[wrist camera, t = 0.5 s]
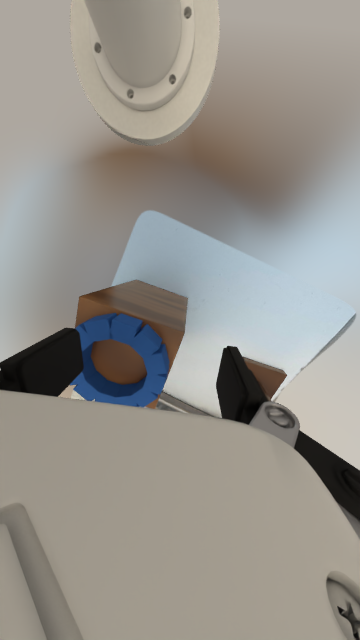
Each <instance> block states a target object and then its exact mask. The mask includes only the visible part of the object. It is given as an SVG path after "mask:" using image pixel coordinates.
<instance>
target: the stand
mask: <svg viewBox="0 0 360 640" xmlns="http://www.w3.org/2000/svg"><path fill="white" fill-rule="evenodd" d="M187 303H188V298H186V297H184V296H181V295H178V294H175V293H172V292H170V291H167V290H164V289H161V288H158V287H156V286H153V285H150V284H147V283H144V282H142V281H139V280H133V281H130V282H126V283H123V284H119V285H116V286H113V287H109V288H106V289H103V290H100V291H96V292H93V293H89V294H86V295H83V296H80V297H79V303H78V310H77V317H76V325H75V328H76V327H77V326H78V325H80V324H82V323H83V322H85V321H87V320H89V319H91V318H93V317H95V316H100V315H105V314H111V313H116V314H117V316H118V315H119V314H121V313H122V314H125V315H128V316H131V317H134V318H136V319H139V320H142V321H143V323H142V326H141V328H143V327H144V326H145V325H146V324H148V325H149V326H150V327H151V328H152V329H153V330H154V331H155V332H156V333H157V334H158V335H159V336H160V337H161V338H162V342H161V344H165V346H166V350H167V354H168V358H169V371H168V374H169V372H170V369H171V367H172V364H173V361H174V359H175V356H176V354H177V351H178V349H179V346H180V344H181V341H182V338H183V336H184V333H185V323H186V313H187ZM91 359H92V361H93V364H94V366H95V369H96V370H97V371H98V372H99V373H100V374H101V375H102V376H104V377H105V378H106V379H107V380H108V381H112V382H115V383H118V384H121V385H126V384H134V383H138V382H139V381H141V380H142V379H143V378H145V377H146V376H147V370H146V367H145V364H144V360H143V358H142V357H141V356H140V355H139V354H138V353H137V352H136V351H135V350H134V349H133V348H132V347H131V346H130V345H127V344H124V343H121V342H118V341H115V340H112V339H108V340H101V341H95V342H94V343H93V346H92V351H91ZM167 377H168V375H167ZM164 385H165V384H164ZM160 395H161V394H160ZM160 395H159V394H158V398H157V399H156V400H154V401H153V402H151V403H150V404H148V405H147V406H145V407H148V408H151V409H155V408H156V405H157V403H158V400H159V397H160Z"/></svg>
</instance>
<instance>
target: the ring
mask: <svg viewBox="0 0 360 640" xmlns="http://www.w3.org/2000/svg"><path fill="white" fill-rule="evenodd" d="M142 323H143V321H142V320H139V319H136V318H134V317H131V316H128V315H125V314H122V313H121V314H119V315H118V316H117V314H116V313H111V314H105V315H100V316H95V317H93V318H91V319H89V320H87V321H85V322H83V323H82V324H80V325H78V326H77V327H76V328H75V329H77V331H78V332H79V333H80V340H81V348H82V356H83V364H84V369H83V371H82V372H81V373H80V374H79V375H78V376H77V377H76V378H75V379H74V380H73V382H72V383H71V384H70V385H76V386H75V388H74V389H73V390H75V391H76V392H77V393H78V394H80V395H81V396H82V397H83V398H84V399H86V400H87V401H92V400H94V399H95V402H102V403H110V404H118V405H126V406H134V407H139V406H140V407H142V408H144V407H145V406H147V405H148V404H150V403H151V402H153V401H154V400H156V399H157V398H158V394H159V395H160V394H161V392H162V390H163V387H164V384H165V382H166V379H167V375H168V371H169V358H168V354H167V350H166V346H165V344H161V342H162V338H161V337H160V336H159V335H158V334H157V333H156V332H155V331H154V330H153V329H152V328H151V327H150V326H149V325H148V324H146V325H145V326H144V327H143V328H141V326H142ZM108 339H112V340H115V341H118V342H121V343H124V344H127V345H130V346H131V347H132V348H133V349H134V350H135V351H136V352H137V353H138V354H139V355H140V356H141V357H142V358H143V360H144V364H145V367H146V370H147V376H146V377H145V378H143V379H142V380H141V381H139V382H138V383H134V384H126V385H121V384H118V383H115V382H112V381H108V380H107V379H106V378H105V377H104V376H102V375H101V374H100V373H99V372H98V371H97V370H96V369H95V366H94V364H93V361H92V359H91V351H92V346H93V343H94V342H95V341H101V340H108Z"/></svg>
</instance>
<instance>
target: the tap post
mask: <svg viewBox="0 0 360 640" xmlns="http://www.w3.org/2000/svg"><path fill="white" fill-rule="evenodd" d="M243 359H244V361H245V363H246V365H247V367H248V369H250V370H251V371H252V372H253V374H254V376H255V377H256V379H257V381H258V383H259V385H260V387H261V388H262V390H263V392H264V394H265V396H266V397H267V399H268V401H269V402H272V401H271V398H272V397H273V395H274V394H275V392H276V391H277V389H278V388H279V386H280V385H281V384H282V382H283V381H284V379H285V378H286V376H287V374H286V373H285V372H284V371H283V370H280V369H277V368H274V367H271V366H268V365H265V364H262V363H259V362H257V361H254V360H251V359H248V358H245V357H243Z"/></svg>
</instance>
